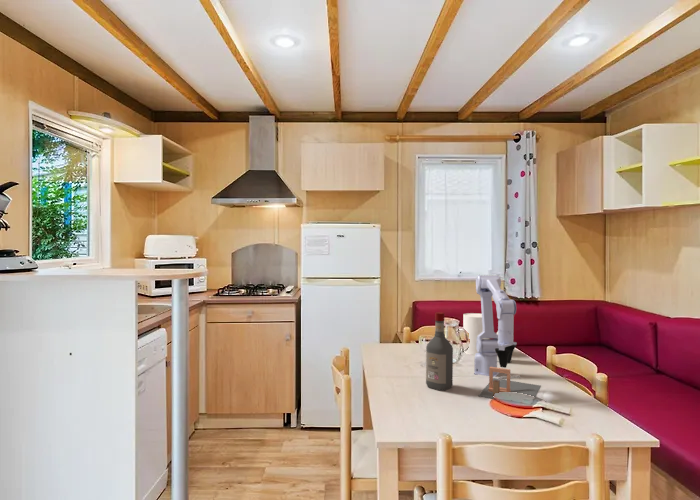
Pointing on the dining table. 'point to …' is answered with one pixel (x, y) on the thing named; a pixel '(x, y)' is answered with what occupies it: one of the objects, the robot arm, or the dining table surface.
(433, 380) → the liquor
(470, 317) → the canister
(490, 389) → the orange rectangular frame
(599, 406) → the dining table surface
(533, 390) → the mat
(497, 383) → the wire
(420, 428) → the dining table surface
